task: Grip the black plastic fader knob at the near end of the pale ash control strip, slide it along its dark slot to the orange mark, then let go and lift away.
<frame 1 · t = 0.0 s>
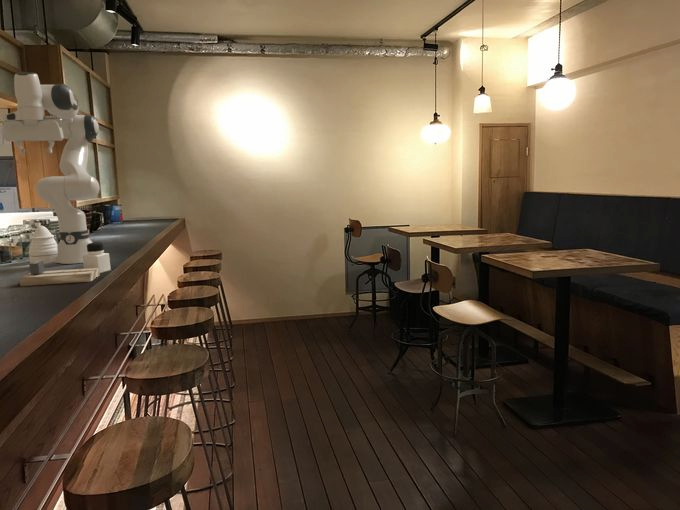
hand: (36, 153, 196), 48 cm above the table, tool pointing down, fingers open, 8 cm apart
honey pot: (45, 261, 238), on the table
fader knob: (37, 267, 190), point 5 cm above the table, slide at -8.0 cm
control strip: (61, 280, 193), on the table
medicine bottle: (97, 272, 208), on the table
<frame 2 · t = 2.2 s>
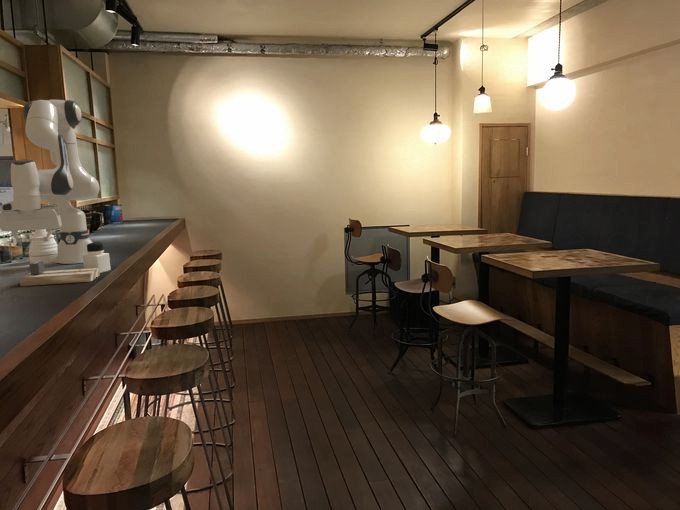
hand: (33, 242, 189), 15 cm above the table, tool pointing down, fingers open, 8 cm apart
nothing on the table moved.
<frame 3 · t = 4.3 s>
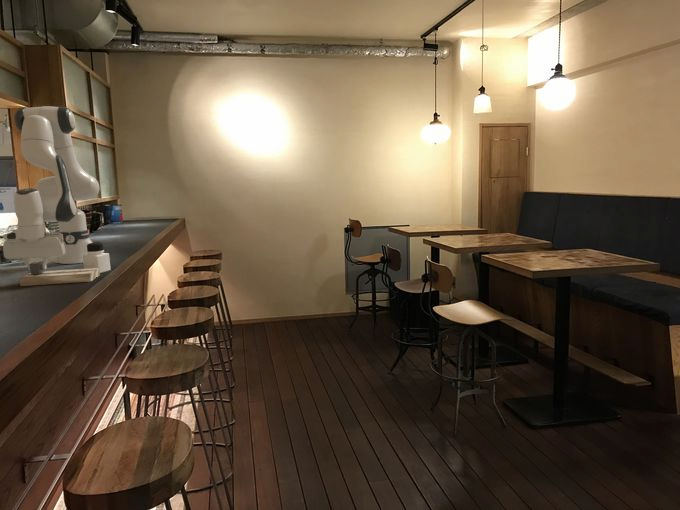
hand: (37, 269, 191), 5 cm above the table, tool pointing down, fingers closed on fader knob, 3 cm apart
fader knob: (37, 267, 190), point 5 cm above the table, slide at -8.0 cm, touching gripper
everything else where it was.
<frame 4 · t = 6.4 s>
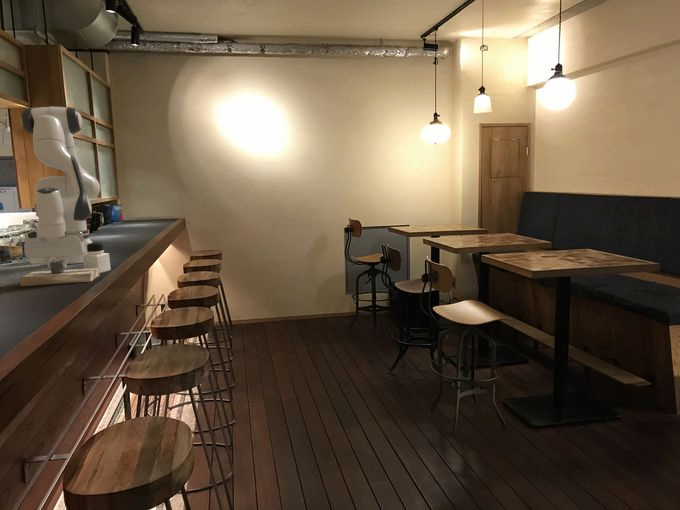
hand: (57, 268, 192), 5 cm above the table, tool pointing down, fingers closed on fader knob, 3 cm apart
fader knob: (57, 266, 192), point 5 cm above the table, slide at -1.0 cm, touching gripper
everything else where it was.
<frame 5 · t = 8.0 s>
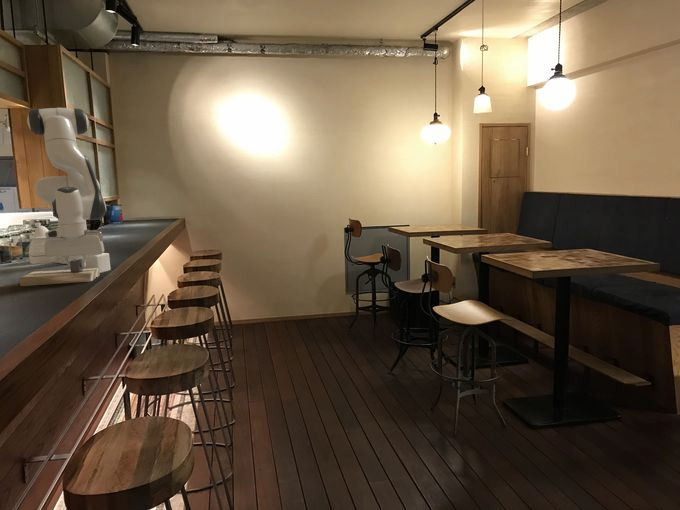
hand: (77, 267, 193), 5 cm above the table, tool pointing down, fingers closed on fader knob, 3 cm apart
fader knob: (76, 265, 193), point 5 cm above the table, slide at 5.9 cm, touching gripper
everything else where it was.
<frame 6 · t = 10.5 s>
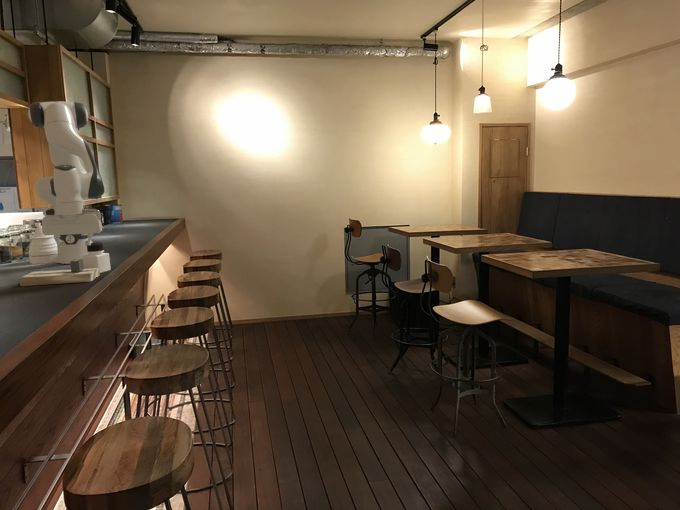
hand: (74, 246, 192), 13 cm above the table, tool pointing down, fingers open, 8 cm apart
fader knob: (77, 265, 193), point 5 cm above the table, slide at 6.0 cm
everything else where it was.
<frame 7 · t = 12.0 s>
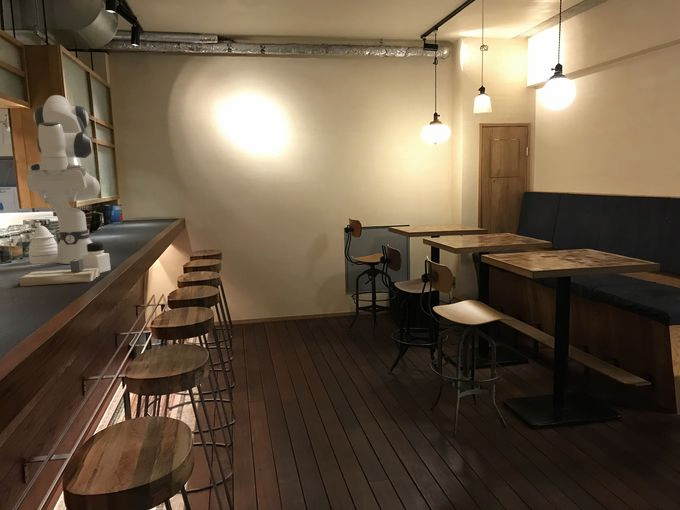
hand: (60, 202, 196), 29 cm above the table, tool pointing down, fingers open, 8 cm apart
nothing on the table moved.
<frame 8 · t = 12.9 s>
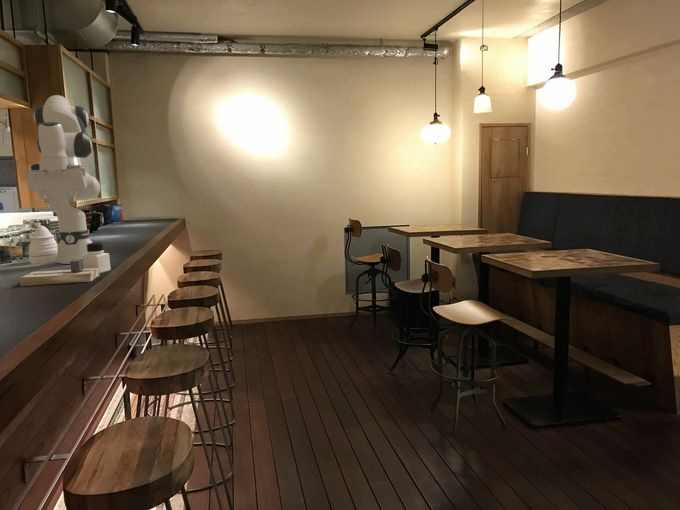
hand: (59, 202, 196), 29 cm above the table, tool pointing down, fingers open, 8 cm apart
nothing on the table moved.
at the end: fader knob slide at 6.0 cm; the gripper is holding nothing; medicine bottle tilted 0° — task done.
